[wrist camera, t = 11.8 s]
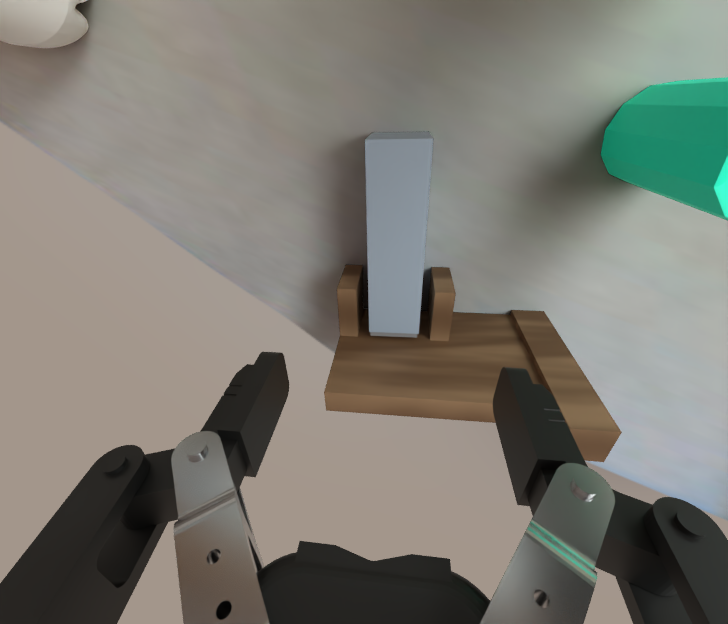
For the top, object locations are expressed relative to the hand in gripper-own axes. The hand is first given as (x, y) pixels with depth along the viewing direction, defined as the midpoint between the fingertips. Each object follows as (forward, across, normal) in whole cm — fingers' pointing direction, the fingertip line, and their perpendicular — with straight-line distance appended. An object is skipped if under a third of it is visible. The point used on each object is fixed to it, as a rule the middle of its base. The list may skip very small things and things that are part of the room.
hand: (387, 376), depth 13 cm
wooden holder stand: (+18, -4, +7) cm, 19 cm away
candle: (+18, -16, -6) cm, 25 cm away
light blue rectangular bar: (+18, 0, 0) cm, 18 cm away
